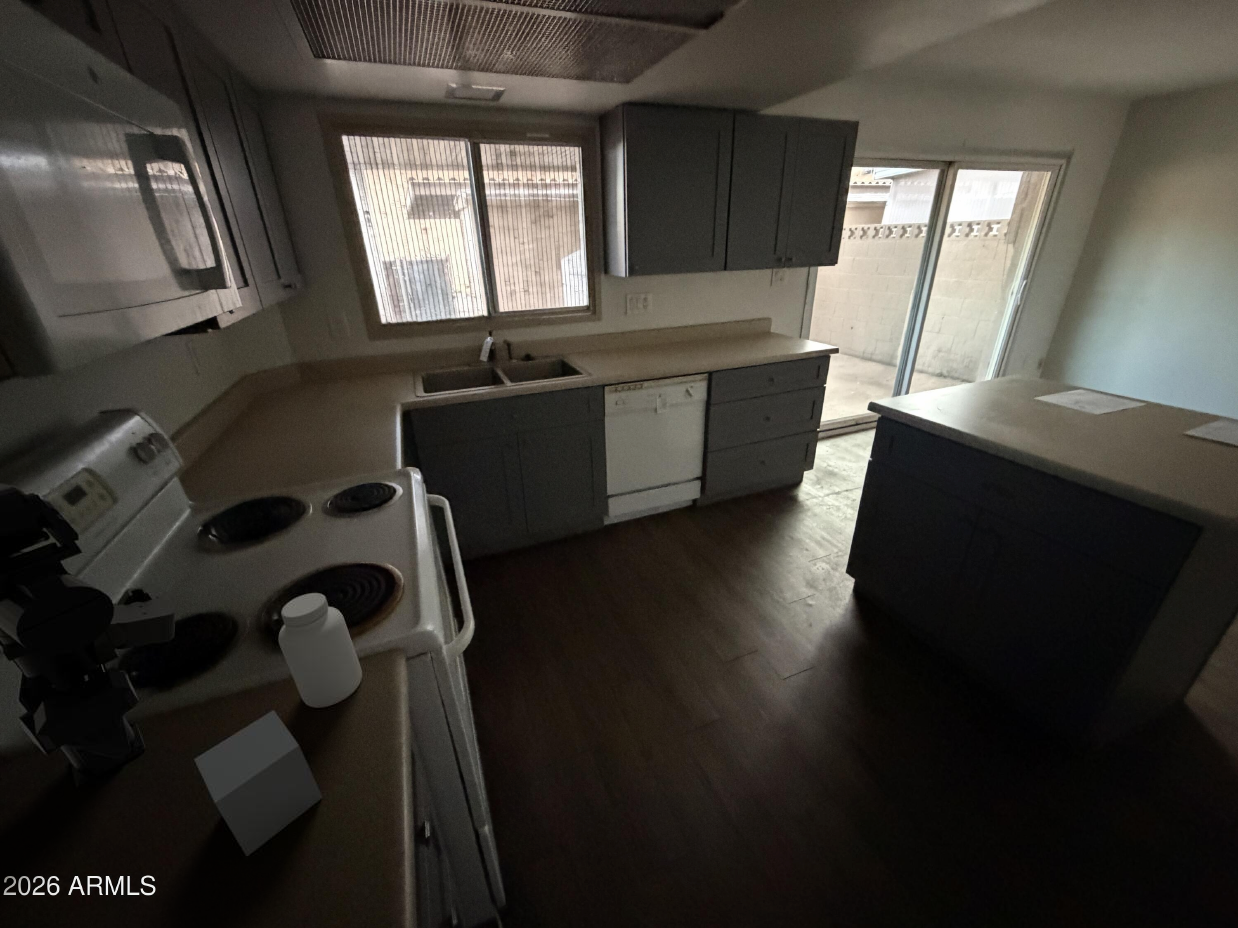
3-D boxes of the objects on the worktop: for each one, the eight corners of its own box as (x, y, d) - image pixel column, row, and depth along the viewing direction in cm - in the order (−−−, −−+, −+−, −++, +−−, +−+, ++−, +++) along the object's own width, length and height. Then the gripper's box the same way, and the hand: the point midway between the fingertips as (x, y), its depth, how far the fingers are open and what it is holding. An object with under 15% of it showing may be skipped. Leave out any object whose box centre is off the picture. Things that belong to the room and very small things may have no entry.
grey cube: (224, 811, 57) (194, 758, 54) (297, 760, 62) (273, 709, 59) (246, 856, 52) (214, 802, 49) (322, 797, 58) (298, 745, 54)
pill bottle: (374, 666, 76) (347, 586, 70) (342, 710, 69) (309, 626, 63) (326, 664, 77) (295, 585, 71) (290, 708, 70) (252, 624, 64)
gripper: (169, 606, 48) (230, 722, 54) (132, 547, 59) (186, 648, 65) (-6, 682, 40) (89, 807, 46) (-10, 597, 51) (66, 706, 57)
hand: (116, 730), depth 54 cm, fingers open, 9 cm apart
